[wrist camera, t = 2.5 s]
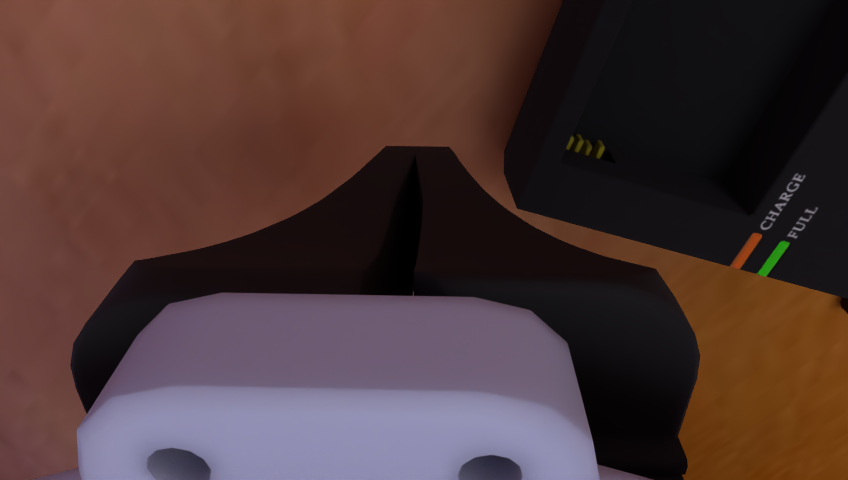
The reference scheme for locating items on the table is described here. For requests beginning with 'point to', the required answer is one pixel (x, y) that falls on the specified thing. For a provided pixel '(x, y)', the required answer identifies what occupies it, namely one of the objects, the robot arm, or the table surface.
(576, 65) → the battery charger
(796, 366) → the table surface
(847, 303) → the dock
